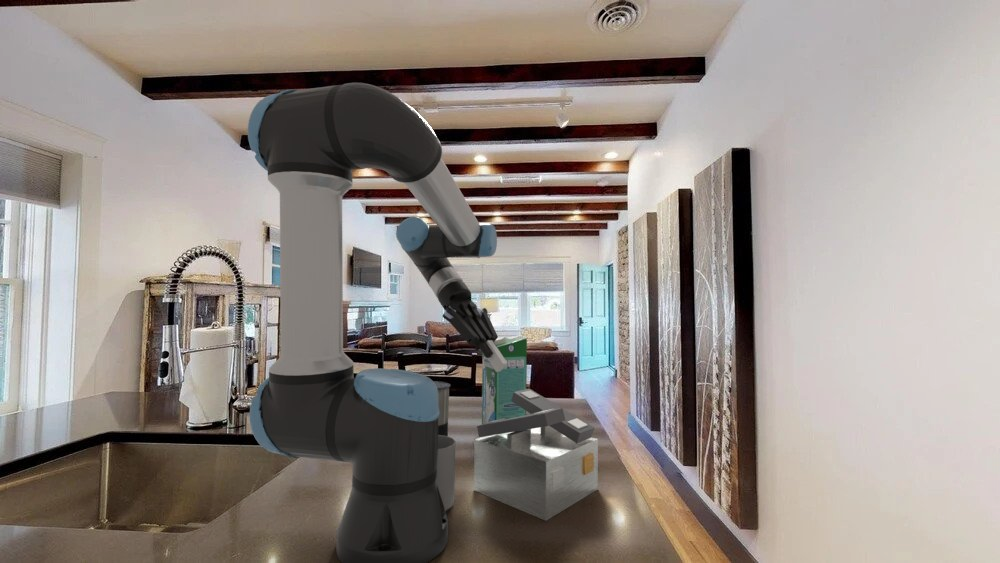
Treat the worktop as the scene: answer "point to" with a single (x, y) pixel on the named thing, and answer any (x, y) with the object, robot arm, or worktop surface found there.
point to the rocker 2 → (537, 403)
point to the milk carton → (504, 380)
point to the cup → (446, 470)
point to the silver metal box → (535, 470)
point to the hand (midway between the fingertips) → (501, 367)
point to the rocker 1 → (522, 422)
